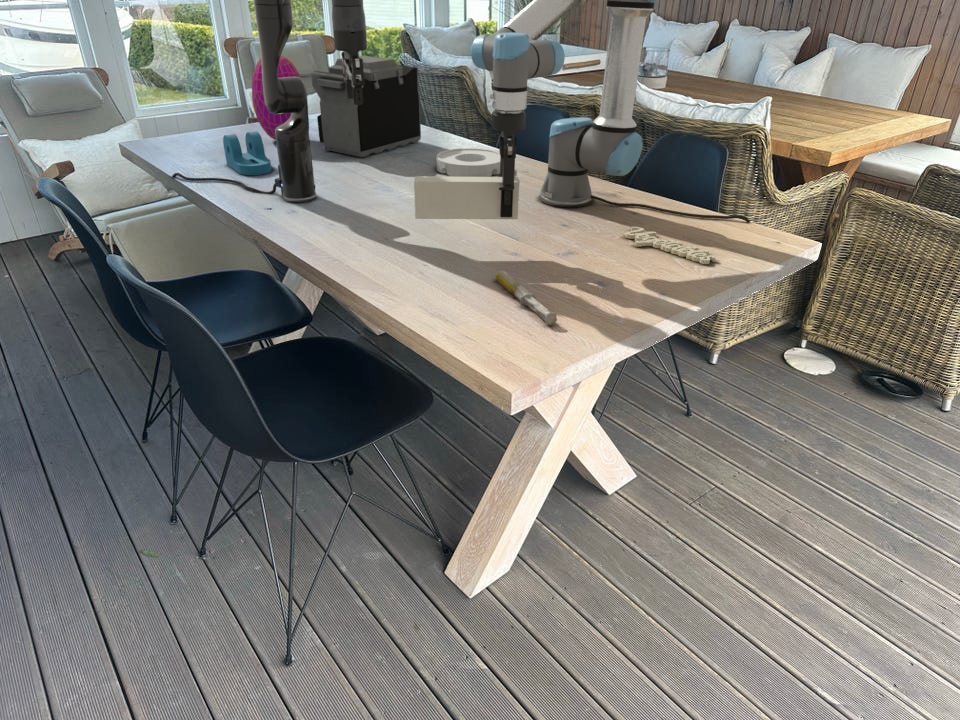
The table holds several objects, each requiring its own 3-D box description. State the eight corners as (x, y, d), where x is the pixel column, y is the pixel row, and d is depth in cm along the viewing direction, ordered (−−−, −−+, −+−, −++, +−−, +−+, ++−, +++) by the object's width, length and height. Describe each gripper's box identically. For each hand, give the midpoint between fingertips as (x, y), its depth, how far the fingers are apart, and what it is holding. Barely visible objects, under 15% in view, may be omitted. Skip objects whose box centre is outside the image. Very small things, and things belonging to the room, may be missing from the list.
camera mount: (227, 164, 233) (221, 132, 227) (257, 160, 238) (252, 129, 233) (244, 176, 220) (239, 143, 215) (276, 172, 225) (271, 139, 220)
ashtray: (439, 158, 242) (439, 147, 240) (504, 160, 242) (505, 148, 240) (433, 177, 222) (433, 164, 220) (504, 178, 222) (505, 166, 220)
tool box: (383, 133, 276) (378, 52, 261) (425, 141, 265) (422, 56, 250) (314, 150, 251) (304, 61, 235) (358, 160, 240) (350, 67, 224)
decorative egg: (293, 132, 276) (283, 50, 261) (319, 140, 264) (310, 56, 249) (249, 139, 265) (236, 54, 250) (273, 148, 253) (261, 60, 238)
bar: (516, 213, 165) (517, 176, 161) (517, 219, 162) (519, 182, 157) (416, 212, 165) (415, 176, 160) (415, 218, 161) (414, 181, 156)
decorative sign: (611, 234, 176) (635, 225, 181) (610, 237, 176) (634, 229, 182) (700, 264, 159) (723, 254, 164) (699, 268, 159) (723, 257, 165)
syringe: (491, 278, 153) (492, 266, 152) (507, 275, 154) (507, 264, 153) (540, 327, 133) (541, 315, 132) (557, 324, 134) (558, 312, 133)
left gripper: (328, 25, 163) (334, 97, 171) (338, 30, 151) (345, 107, 160) (359, 24, 165) (364, 95, 173) (372, 30, 154) (376, 106, 162)
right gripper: (490, 103, 159) (488, 201, 170) (494, 118, 144) (491, 225, 155) (522, 103, 159) (518, 202, 171) (529, 118, 144) (524, 225, 156)
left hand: (355, 101), depth 167 cm, fingers open, 8 cm apart
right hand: (505, 213), depth 163 cm, fingers closed on bar, 4 cm apart
